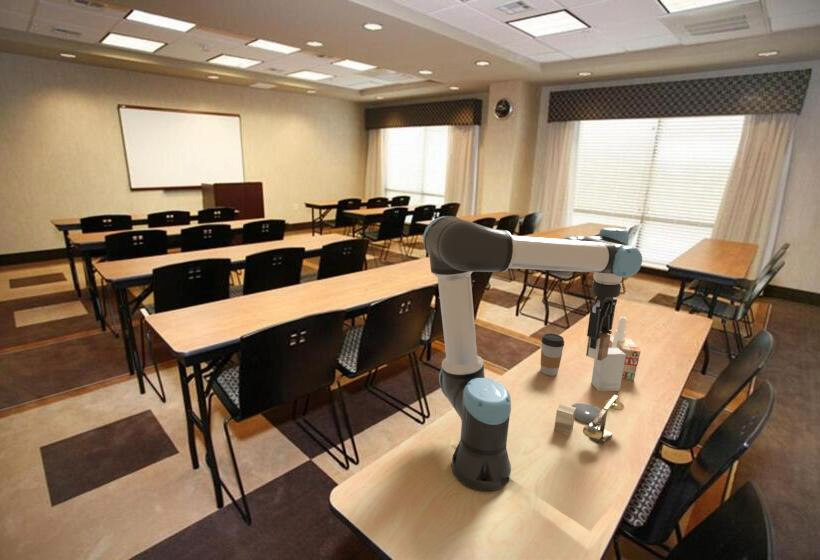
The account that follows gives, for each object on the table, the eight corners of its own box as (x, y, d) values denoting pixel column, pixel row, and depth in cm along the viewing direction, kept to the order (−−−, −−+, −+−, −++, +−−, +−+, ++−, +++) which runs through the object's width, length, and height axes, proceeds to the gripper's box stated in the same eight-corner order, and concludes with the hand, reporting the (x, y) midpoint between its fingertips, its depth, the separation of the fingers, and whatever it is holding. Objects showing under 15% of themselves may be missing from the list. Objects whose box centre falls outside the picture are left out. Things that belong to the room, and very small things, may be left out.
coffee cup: (561, 379, 153) (566, 342, 149) (538, 376, 154) (543, 340, 151) (558, 369, 161) (563, 334, 157) (536, 367, 162) (540, 332, 159)
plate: (595, 428, 123) (595, 424, 123) (564, 413, 130) (564, 410, 130) (609, 416, 130) (609, 413, 129) (578, 403, 137) (579, 400, 136)
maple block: (569, 435, 119) (572, 414, 117) (554, 430, 122) (556, 409, 120) (573, 428, 123) (576, 407, 121) (557, 423, 125) (560, 402, 123)
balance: (595, 454, 111) (601, 418, 108) (577, 445, 115) (583, 410, 112) (622, 428, 123) (628, 396, 120) (605, 421, 127) (611, 389, 124)
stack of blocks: (603, 355, 175) (608, 328, 172) (618, 357, 174) (624, 330, 171) (616, 378, 155) (622, 348, 151) (634, 380, 153) (641, 350, 150)
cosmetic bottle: (617, 365, 167) (625, 314, 161) (625, 372, 161) (635, 319, 155) (603, 365, 166) (611, 314, 161) (611, 372, 160) (620, 319, 155)
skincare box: (611, 383, 151) (618, 346, 147) (620, 392, 145) (627, 354, 141) (589, 383, 151) (595, 346, 147) (597, 391, 145) (603, 353, 141)
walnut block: (586, 355, 124) (588, 334, 122) (592, 351, 127) (595, 330, 125) (600, 360, 121) (604, 338, 119) (607, 356, 124) (610, 335, 122)
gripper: (607, 289, 110) (596, 368, 115) (632, 279, 121) (620, 351, 127) (580, 283, 115) (570, 359, 121) (606, 274, 126) (596, 344, 132)
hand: (596, 355), depth 124 cm, fingers closed on walnut block, 4 cm apart
